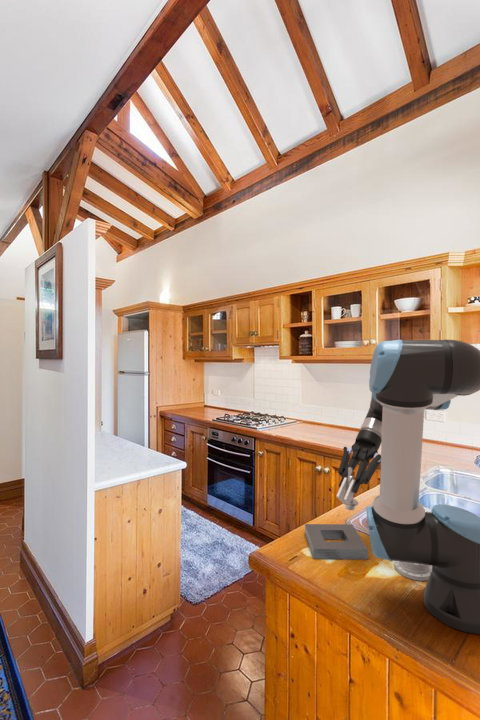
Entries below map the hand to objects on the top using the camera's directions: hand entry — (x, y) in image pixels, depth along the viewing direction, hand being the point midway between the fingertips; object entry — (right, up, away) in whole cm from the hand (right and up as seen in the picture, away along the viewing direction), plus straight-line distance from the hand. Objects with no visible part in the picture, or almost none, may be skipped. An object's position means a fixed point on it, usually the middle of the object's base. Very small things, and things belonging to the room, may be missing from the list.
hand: (342, 499), depth 110 cm
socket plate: (-1, -17, +7) cm, 18 cm away
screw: (+3, -4, +3) cm, 6 cm away
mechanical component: (+18, -18, -7) cm, 26 cm away
